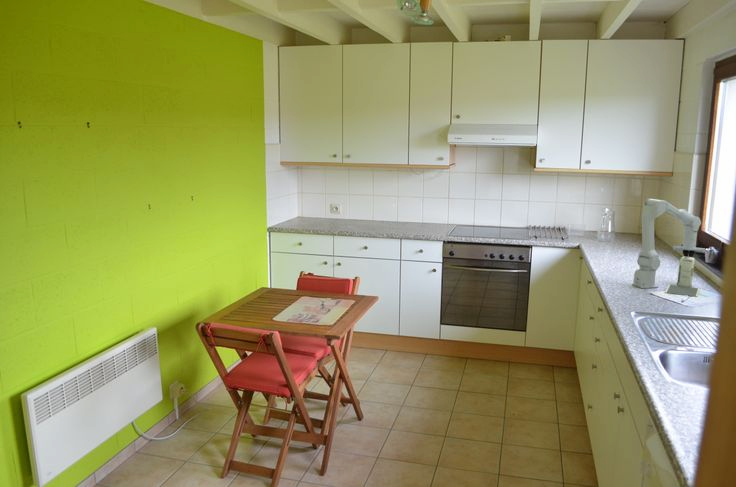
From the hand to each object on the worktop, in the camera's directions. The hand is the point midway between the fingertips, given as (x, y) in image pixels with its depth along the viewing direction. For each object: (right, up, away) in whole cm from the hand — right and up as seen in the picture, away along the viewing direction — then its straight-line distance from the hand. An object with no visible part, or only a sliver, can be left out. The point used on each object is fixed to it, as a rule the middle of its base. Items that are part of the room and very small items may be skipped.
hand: (687, 264), depth 303 cm
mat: (-10, -12, -14) cm, 22 cm away
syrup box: (-4, -11, -4) cm, 12 cm away
